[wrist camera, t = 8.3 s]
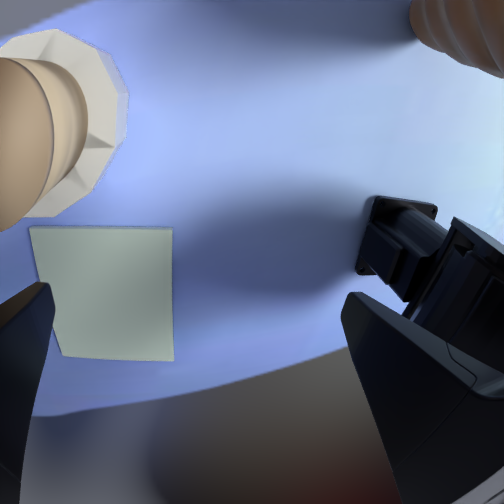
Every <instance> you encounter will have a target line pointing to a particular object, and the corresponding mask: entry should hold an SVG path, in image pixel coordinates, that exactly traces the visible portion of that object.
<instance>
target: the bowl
mask: <svg viewBox="0 0 504 504" xmlns="http://www.w3.org/2000/svg"><path fill="white" fill-rule="evenodd" d="M0 57H7V58H22V59H34V60H44V61H49V62H53V63H55V64H58V65H60V66H61V67H63V68H65V69H66V70H67V71H68V72H69V73H70V74H72V76H73V77H74V78H75V79H76V81H77V82H78V84H79V85H80V87H81V89H82V92H83V94H84V97H85V100H86V104H87V110H88V131H87V136H86V141H85V144H84V148H83V151H82V153H81V155H80V157H79V159H78V161H77V163H76V164H75V166H74V167H73V169H72V170H71V171H70V172H69V173H68V175H67V176H66V177H65V178H64V179H62V180H61V181H60V182H59V183H58V184H57V185H56V186H55V187H54V188H52V189H51V190H50V191H49V192H48V193H47V194H46V195H45V196H44V197H43V198H42V199H41V200H40V201H39V202H38V203H37V204H36V205H35V206H34V207H33V208H32V209H31V210H30V211H29V212H28V213H27V214H26V215H25V216H24V217H55V216H56V215H58V214H59V213H61V212H62V211H64V210H65V209H67V208H68V207H70V206H71V205H73V204H74V203H76V202H77V201H79V200H80V199H82V198H83V197H85V196H87V195H88V194H90V193H91V192H92V191H93V189H94V188H95V187H96V186H97V184H98V183H99V182H100V181H101V179H102V178H103V177H104V176H105V174H106V172H107V170H108V168H109V167H110V165H111V163H112V161H113V159H114V158H115V156H116V154H117V153H118V151H119V149H120V147H121V146H122V144H123V142H124V141H125V139H126V135H127V116H128V101H129V91H128V89H127V87H126V85H125V83H124V81H123V79H122V77H121V75H120V73H119V71H118V69H117V67H116V65H115V63H114V61H113V59H112V57H111V55H110V54H109V53H107V52H105V51H103V50H101V49H99V48H98V47H96V46H94V45H92V44H90V43H88V42H86V41H84V40H82V39H80V38H78V37H76V36H74V35H71V34H69V33H66V32H64V31H61V30H58V29H51V30H45V31H40V32H35V33H30V34H26V35H21V36H17V37H13V38H11V39H10V40H9V41H8V42H7V43H6V44H4V45H3V46H2V47H1V48H0Z"/></svg>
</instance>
